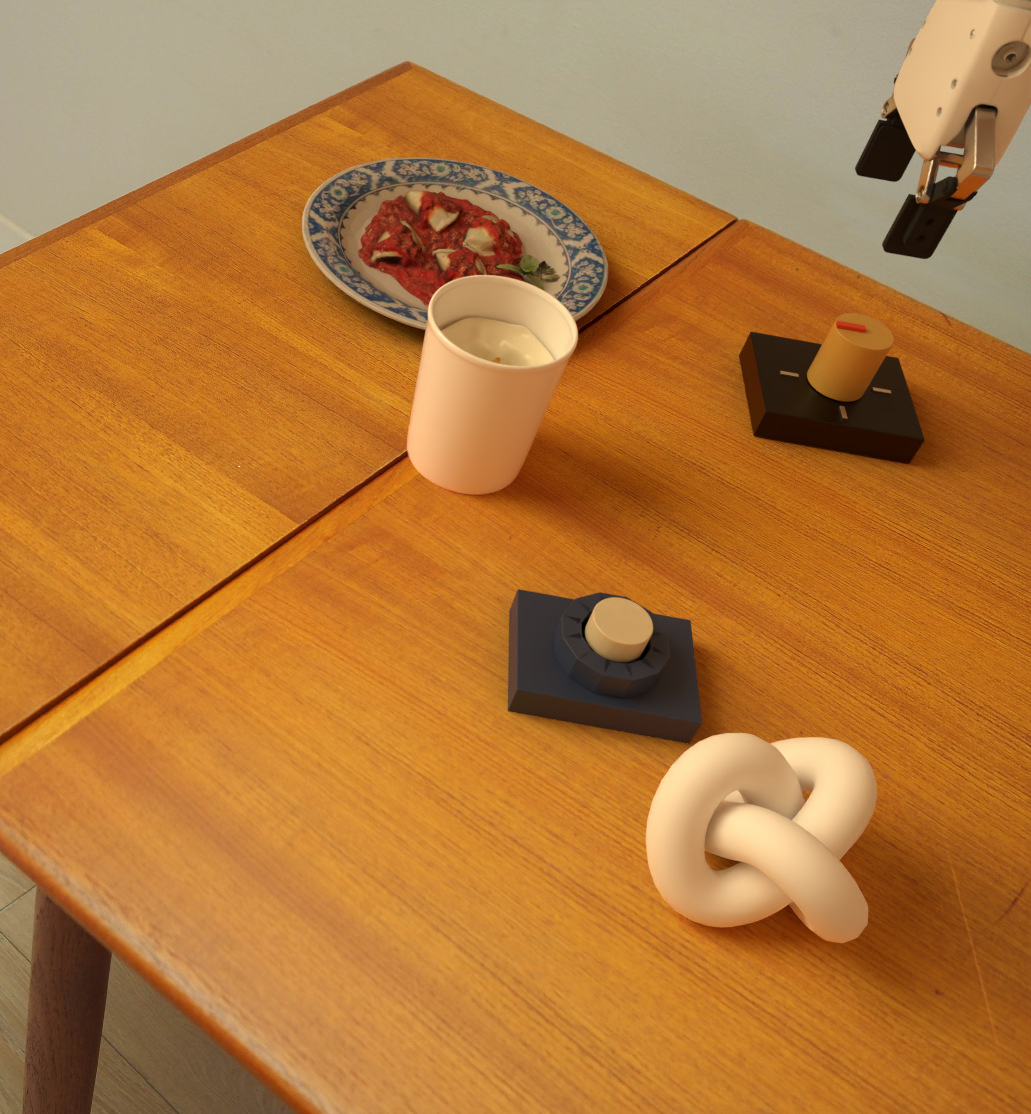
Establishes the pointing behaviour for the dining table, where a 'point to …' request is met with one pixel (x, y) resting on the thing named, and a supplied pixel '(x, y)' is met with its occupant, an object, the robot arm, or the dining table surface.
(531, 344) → the candle holder
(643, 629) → the bell button
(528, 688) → the push button box
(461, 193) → the ceramic plate
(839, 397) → the lock knob
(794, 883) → the white knot sculpture
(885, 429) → the black dial base
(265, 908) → the dining table surface
